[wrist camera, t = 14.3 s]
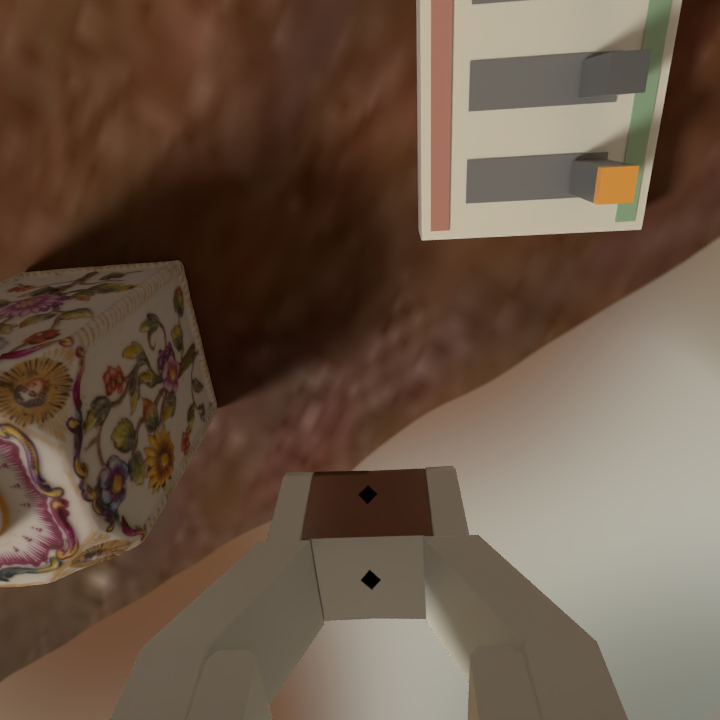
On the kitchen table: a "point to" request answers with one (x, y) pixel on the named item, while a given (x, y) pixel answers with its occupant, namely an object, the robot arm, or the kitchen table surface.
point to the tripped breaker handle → (603, 181)
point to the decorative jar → (94, 412)
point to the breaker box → (535, 110)
